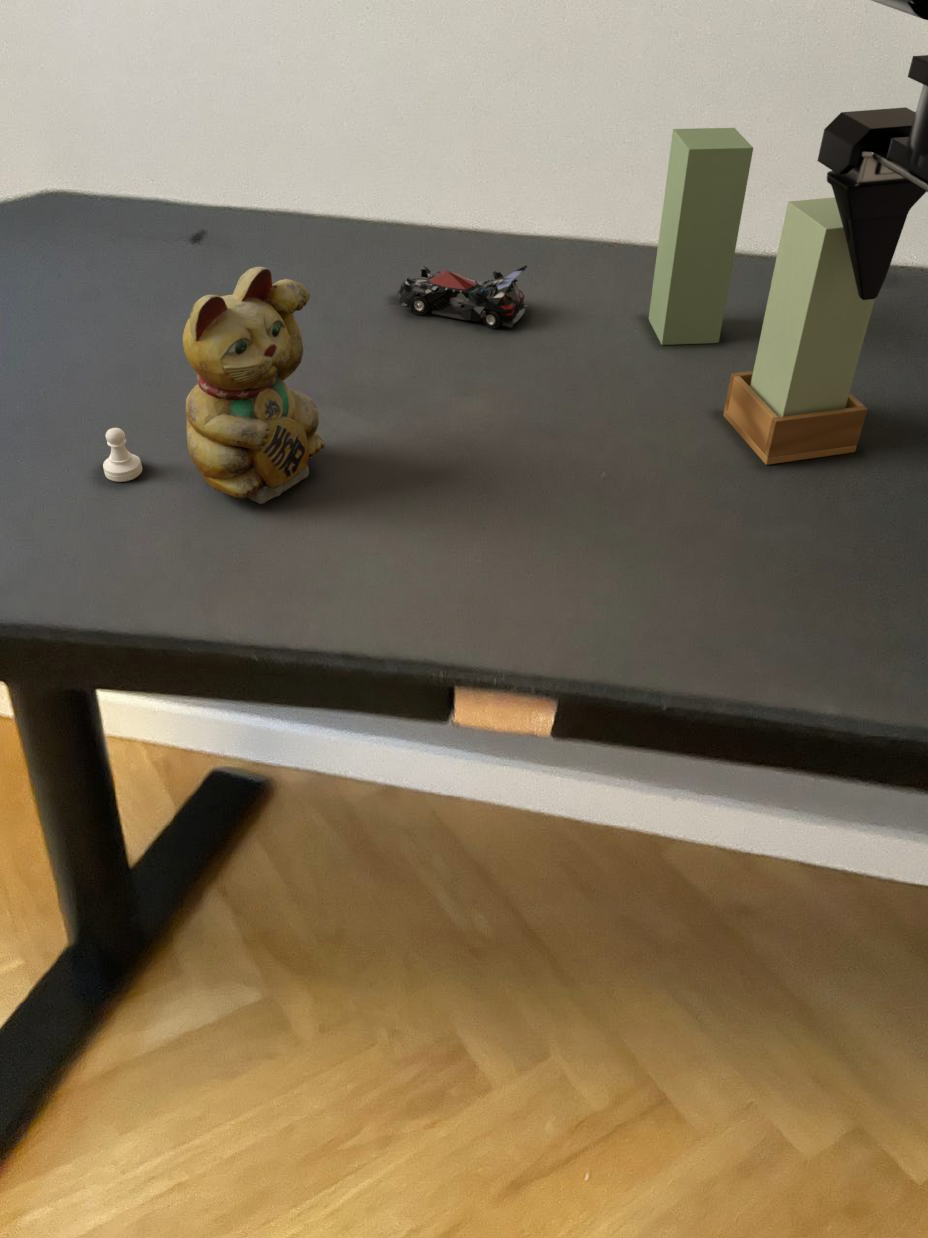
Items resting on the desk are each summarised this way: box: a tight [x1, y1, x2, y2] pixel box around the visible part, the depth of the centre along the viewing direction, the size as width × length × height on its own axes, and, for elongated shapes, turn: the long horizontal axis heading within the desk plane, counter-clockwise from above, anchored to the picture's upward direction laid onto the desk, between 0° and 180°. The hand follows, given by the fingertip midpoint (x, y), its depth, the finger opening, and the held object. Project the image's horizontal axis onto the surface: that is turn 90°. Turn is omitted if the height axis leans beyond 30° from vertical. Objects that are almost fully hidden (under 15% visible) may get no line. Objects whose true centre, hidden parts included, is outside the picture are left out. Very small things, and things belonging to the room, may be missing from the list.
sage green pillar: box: [750, 196, 876, 418], centre depth 74 cm, size 5×5×16 cm
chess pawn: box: [102, 427, 143, 483], centre depth 74 cm, size 3×3×4 cm
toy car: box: [396, 264, 529, 329], centre depth 94 cm, size 6×12×4 cm, turn 68°
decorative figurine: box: [181, 266, 326, 505], centre depth 70 cm, size 10×8×15 cm
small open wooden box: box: [722, 370, 868, 466], centre depth 79 cm, size 7×7×4 cm
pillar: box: [648, 127, 754, 346], centre depth 88 cm, size 5×5×16 cm
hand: (908, 330), depth 64 cm, fingers open, 9 cm apart
